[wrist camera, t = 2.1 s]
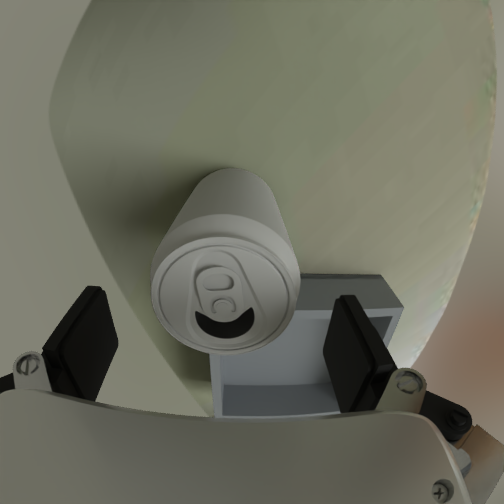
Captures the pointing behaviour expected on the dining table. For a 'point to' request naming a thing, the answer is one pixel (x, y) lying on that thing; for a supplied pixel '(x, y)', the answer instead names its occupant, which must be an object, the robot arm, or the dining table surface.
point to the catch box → (299, 353)
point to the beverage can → (226, 267)
